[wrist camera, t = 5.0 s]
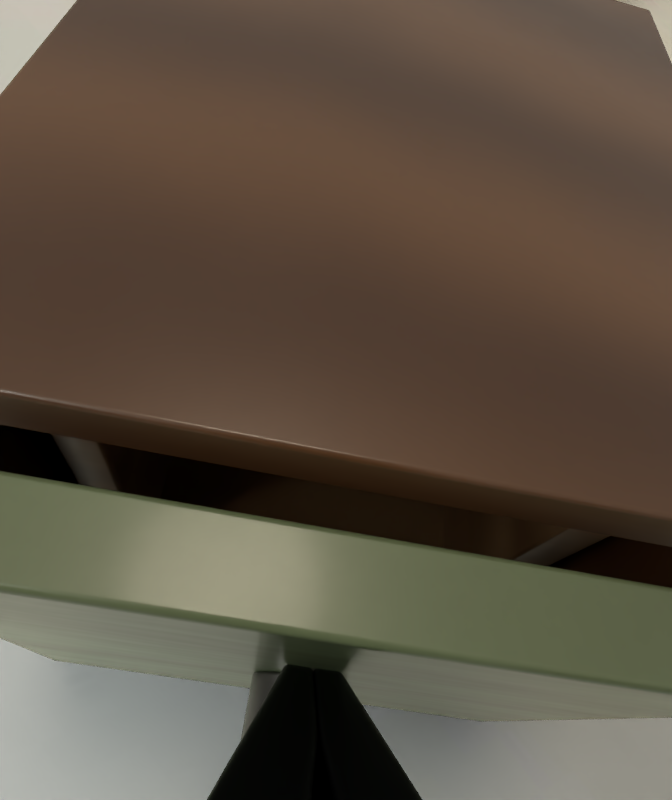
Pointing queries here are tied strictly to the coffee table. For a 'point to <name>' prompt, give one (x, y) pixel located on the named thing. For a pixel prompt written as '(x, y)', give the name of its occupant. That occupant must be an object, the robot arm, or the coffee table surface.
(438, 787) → the coffee table surface
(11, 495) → the drawer
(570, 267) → the cabinet
